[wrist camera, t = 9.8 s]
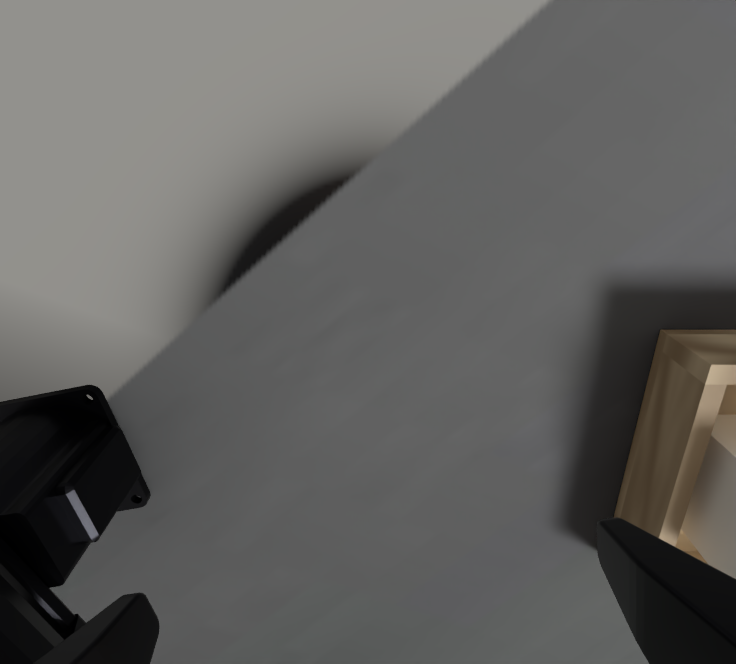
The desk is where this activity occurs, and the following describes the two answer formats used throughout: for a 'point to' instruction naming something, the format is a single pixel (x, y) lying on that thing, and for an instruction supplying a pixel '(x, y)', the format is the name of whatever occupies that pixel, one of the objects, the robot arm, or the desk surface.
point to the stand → (716, 500)
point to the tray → (677, 429)
